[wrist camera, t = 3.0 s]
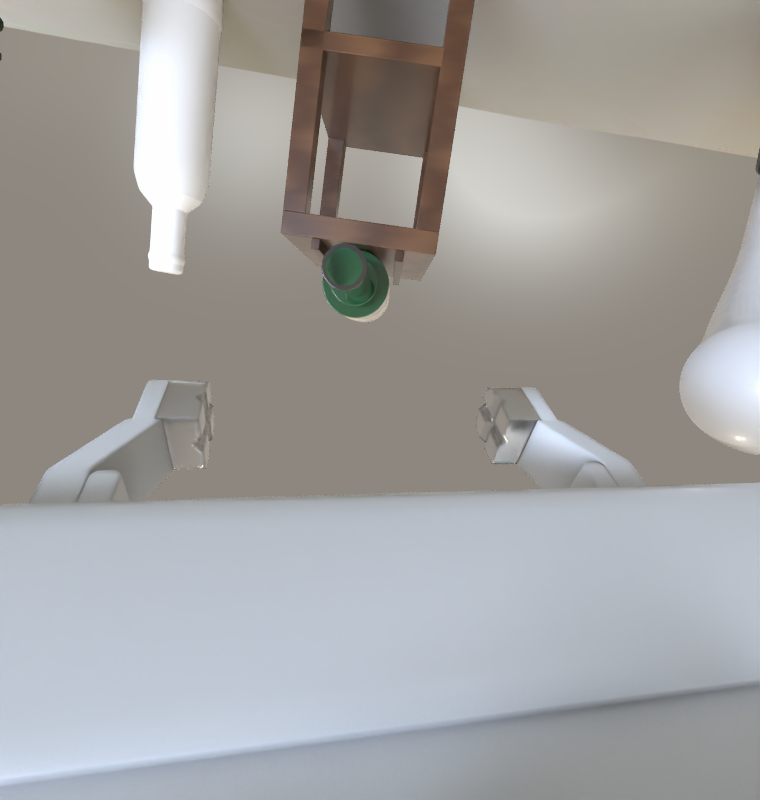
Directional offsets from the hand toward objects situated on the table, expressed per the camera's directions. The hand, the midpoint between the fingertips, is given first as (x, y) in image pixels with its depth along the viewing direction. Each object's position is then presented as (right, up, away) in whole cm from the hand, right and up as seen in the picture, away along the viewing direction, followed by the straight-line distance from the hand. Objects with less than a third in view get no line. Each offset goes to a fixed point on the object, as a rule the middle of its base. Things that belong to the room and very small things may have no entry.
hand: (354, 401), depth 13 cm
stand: (+3, +41, +33) cm, 53 cm away
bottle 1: (-20, +45, +35) cm, 60 cm away
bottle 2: (-1, +15, +32) cm, 35 cm away
